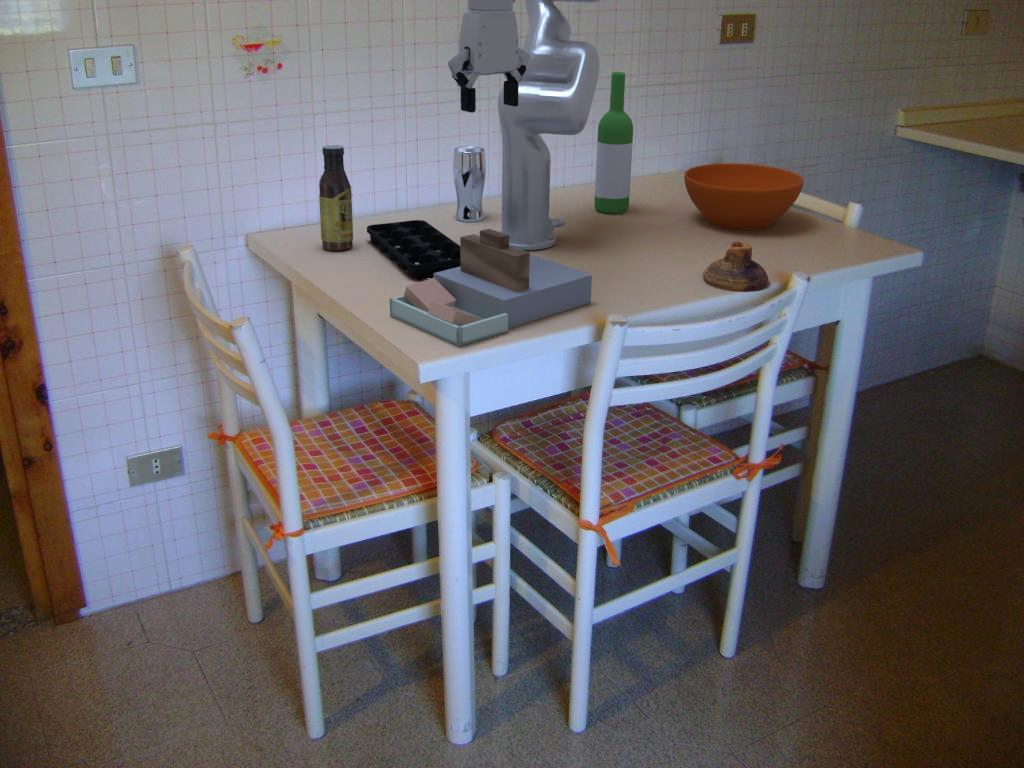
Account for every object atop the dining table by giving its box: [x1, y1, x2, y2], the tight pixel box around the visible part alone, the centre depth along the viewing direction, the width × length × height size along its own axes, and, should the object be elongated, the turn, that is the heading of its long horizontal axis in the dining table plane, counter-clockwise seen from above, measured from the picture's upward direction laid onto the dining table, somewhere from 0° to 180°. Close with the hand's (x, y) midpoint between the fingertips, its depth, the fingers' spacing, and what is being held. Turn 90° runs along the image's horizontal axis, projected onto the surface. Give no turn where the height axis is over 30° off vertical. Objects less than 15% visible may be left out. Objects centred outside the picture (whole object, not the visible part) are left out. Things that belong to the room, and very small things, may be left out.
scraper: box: [459, 228, 531, 292], centre depth 176 cm, size 3×14×8 cm, turn 42°
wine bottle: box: [594, 71, 634, 215], centre depth 233 cm, size 8×8×30 cm
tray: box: [389, 294, 509, 348], centre depth 172 cm, size 10×18×3 cm, turn 42°
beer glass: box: [452, 145, 487, 223], centre depth 228 cm, size 7×7×15 cm
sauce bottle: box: [318, 144, 354, 252], centre depth 207 cm, size 7×6×20 cm
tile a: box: [403, 278, 456, 313], centre depth 176 cm, size 6×6×2 cm
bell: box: [702, 240, 770, 292], centre depth 193 cm, size 12×12×7 cm
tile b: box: [428, 301, 482, 326], centre depth 168 cm, size 6×6×2 cm
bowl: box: [683, 162, 805, 231], centre depth 230 cm, size 25×25×10 cm
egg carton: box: [366, 219, 461, 281], centre depth 205 cm, size 18×30×4 cm, turn 36°
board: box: [434, 254, 593, 330], centre depth 182 cm, size 20×18×5 cm
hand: (489, 108), depth 183 cm, fingers open, 9 cm apart
